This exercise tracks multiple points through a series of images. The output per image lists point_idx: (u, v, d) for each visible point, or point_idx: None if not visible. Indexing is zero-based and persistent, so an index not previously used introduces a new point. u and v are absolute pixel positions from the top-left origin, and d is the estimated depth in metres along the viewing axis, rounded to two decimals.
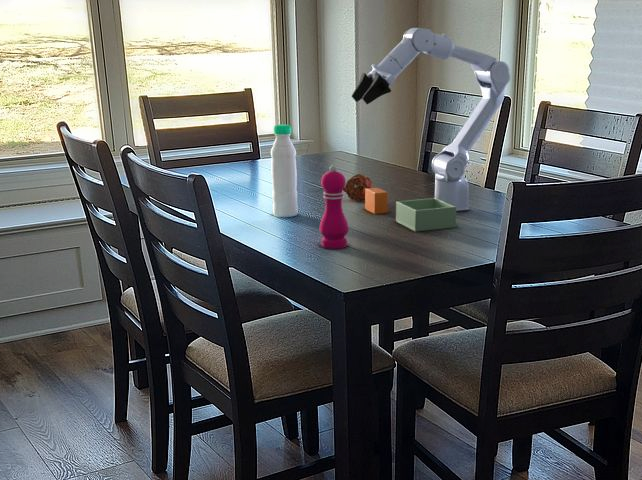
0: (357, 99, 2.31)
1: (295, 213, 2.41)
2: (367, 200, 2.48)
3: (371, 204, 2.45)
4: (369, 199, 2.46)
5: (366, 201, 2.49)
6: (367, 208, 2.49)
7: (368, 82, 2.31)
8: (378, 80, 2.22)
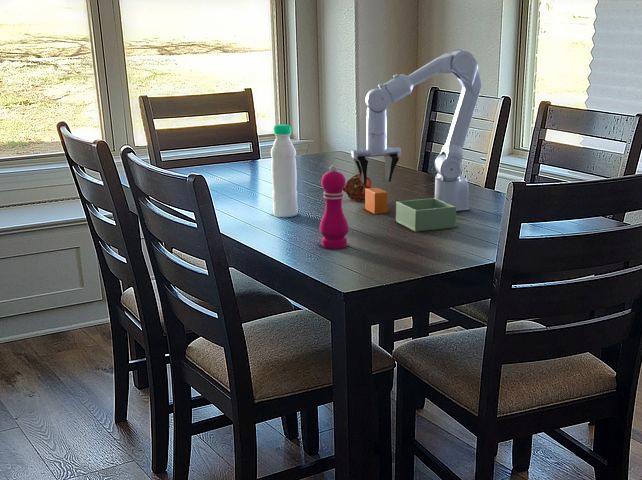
0: (388, 179, 2.45)
1: (295, 213, 2.41)
2: (367, 200, 2.48)
3: (371, 204, 2.45)
4: (369, 199, 2.46)
5: (366, 201, 2.49)
6: (367, 208, 2.49)
7: (387, 160, 2.44)
8: (355, 161, 2.42)
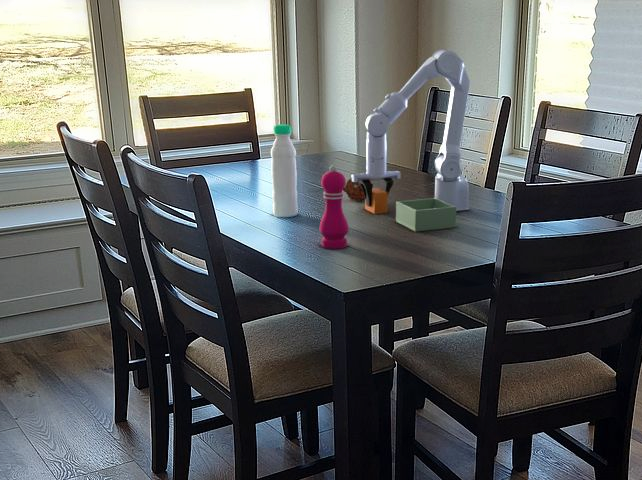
0: None
1: (295, 213, 2.41)
2: None
3: (371, 204, 2.45)
4: None
5: None
6: (367, 208, 2.49)
7: (382, 183, 2.46)
8: (360, 184, 2.45)
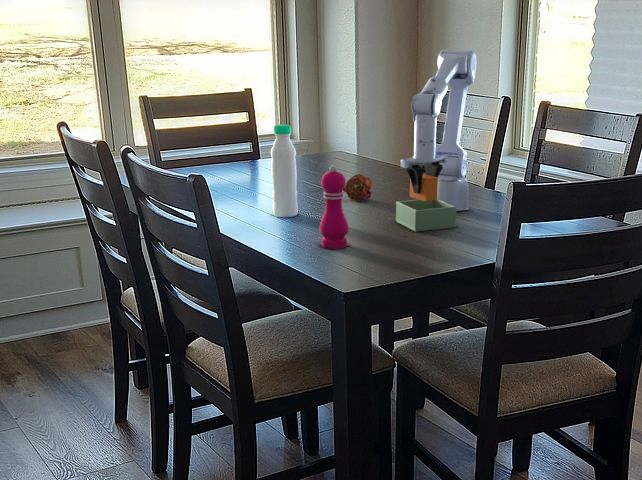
0: None
1: (295, 213, 2.41)
2: None
3: (421, 191, 2.28)
4: None
5: (412, 188, 2.31)
6: (413, 196, 2.31)
7: (429, 169, 2.30)
8: (407, 170, 2.27)
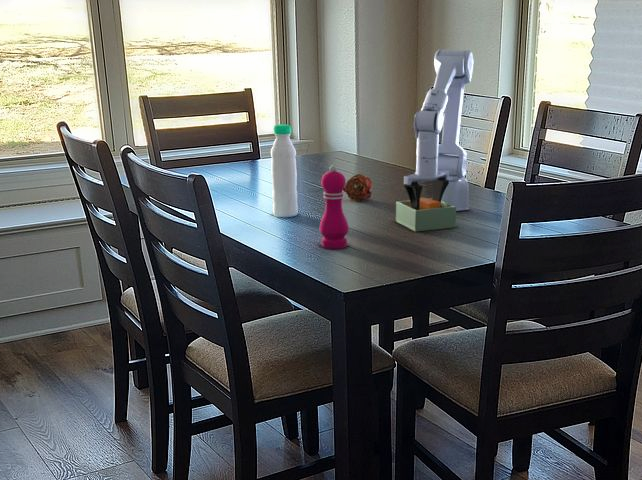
0: None
1: (295, 213, 2.41)
2: None
3: None
4: None
5: None
6: None
7: (435, 184, 2.32)
8: (405, 187, 2.27)
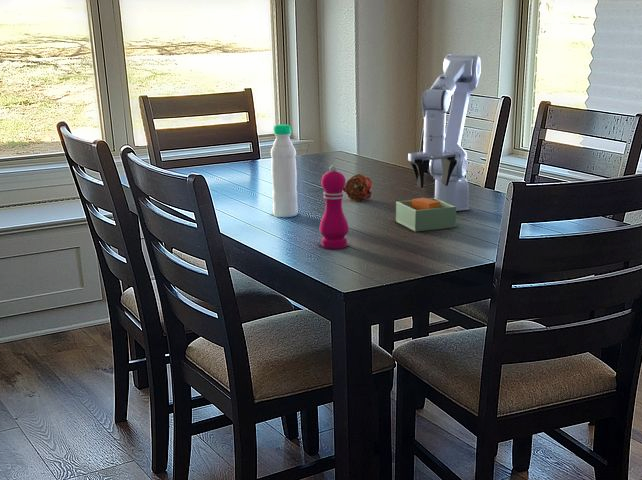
0: None
1: (295, 213, 2.41)
2: None
3: None
4: None
5: None
6: None
7: None
8: None
